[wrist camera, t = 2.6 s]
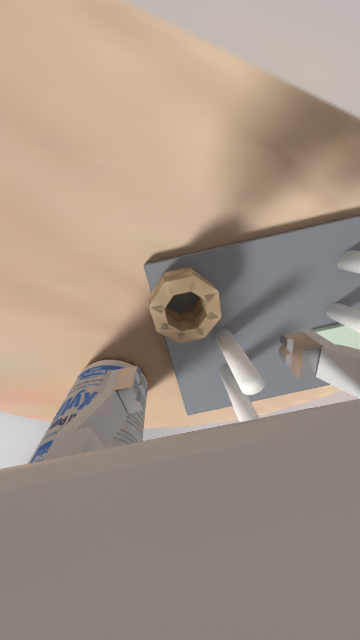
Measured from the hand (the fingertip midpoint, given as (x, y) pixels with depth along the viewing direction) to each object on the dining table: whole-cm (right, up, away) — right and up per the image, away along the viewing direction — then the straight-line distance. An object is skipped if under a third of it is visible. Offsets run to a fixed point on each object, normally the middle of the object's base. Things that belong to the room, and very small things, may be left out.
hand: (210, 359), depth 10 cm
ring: (-2, +5, +9) cm, 10 cm away
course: (+10, +1, +13) cm, 16 cm away
